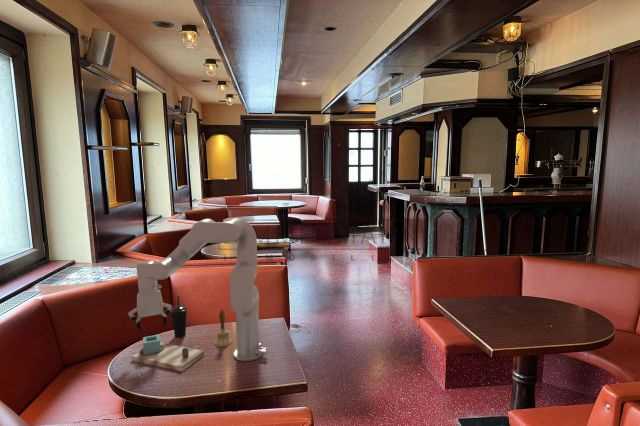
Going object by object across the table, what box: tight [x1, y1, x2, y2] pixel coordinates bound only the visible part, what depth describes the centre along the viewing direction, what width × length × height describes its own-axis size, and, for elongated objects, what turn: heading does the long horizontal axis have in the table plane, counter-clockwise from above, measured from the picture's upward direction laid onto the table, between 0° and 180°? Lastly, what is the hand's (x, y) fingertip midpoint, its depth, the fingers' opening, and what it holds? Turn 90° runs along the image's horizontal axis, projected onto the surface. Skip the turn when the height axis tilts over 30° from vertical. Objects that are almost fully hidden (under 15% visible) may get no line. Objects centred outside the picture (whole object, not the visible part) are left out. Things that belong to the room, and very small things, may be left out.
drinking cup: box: [170, 295, 188, 339], centre depth 181 cm, size 8×8×20 cm
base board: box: [131, 342, 205, 372], centre depth 161 cm, size 27×14×6 cm, turn 70°
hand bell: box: [213, 309, 233, 348], centre depth 174 cm, size 8×8×16 cm
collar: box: [142, 334, 161, 355], centre depth 163 cm, size 7×7×5 cm
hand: (152, 327), depth 163 cm, fingers open, 9 cm apart
